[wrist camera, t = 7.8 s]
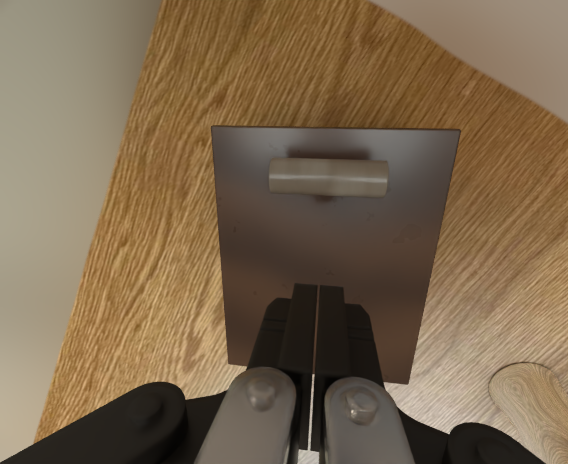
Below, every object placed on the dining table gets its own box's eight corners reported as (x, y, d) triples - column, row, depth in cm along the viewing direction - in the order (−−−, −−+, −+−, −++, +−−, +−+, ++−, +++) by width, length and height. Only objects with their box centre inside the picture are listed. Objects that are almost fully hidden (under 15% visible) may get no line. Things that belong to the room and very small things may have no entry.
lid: (214, 125, 17) (179, 128, 13) (456, 128, 15) (500, 133, 11) (230, 357, 23) (210, 408, 19) (406, 377, 21) (423, 437, 17)
